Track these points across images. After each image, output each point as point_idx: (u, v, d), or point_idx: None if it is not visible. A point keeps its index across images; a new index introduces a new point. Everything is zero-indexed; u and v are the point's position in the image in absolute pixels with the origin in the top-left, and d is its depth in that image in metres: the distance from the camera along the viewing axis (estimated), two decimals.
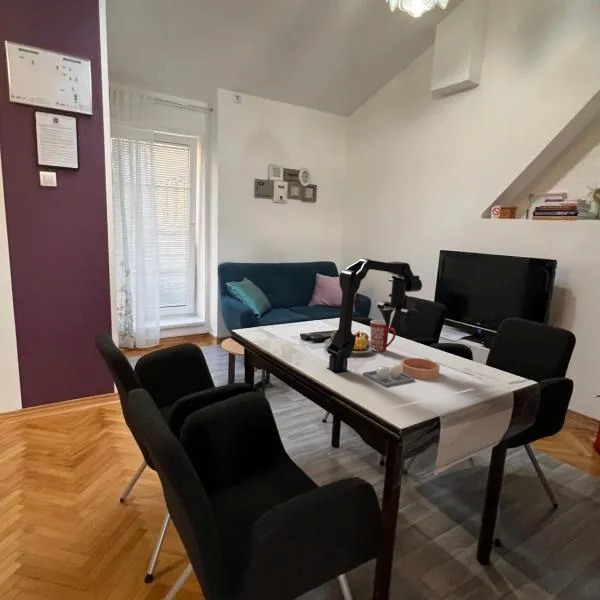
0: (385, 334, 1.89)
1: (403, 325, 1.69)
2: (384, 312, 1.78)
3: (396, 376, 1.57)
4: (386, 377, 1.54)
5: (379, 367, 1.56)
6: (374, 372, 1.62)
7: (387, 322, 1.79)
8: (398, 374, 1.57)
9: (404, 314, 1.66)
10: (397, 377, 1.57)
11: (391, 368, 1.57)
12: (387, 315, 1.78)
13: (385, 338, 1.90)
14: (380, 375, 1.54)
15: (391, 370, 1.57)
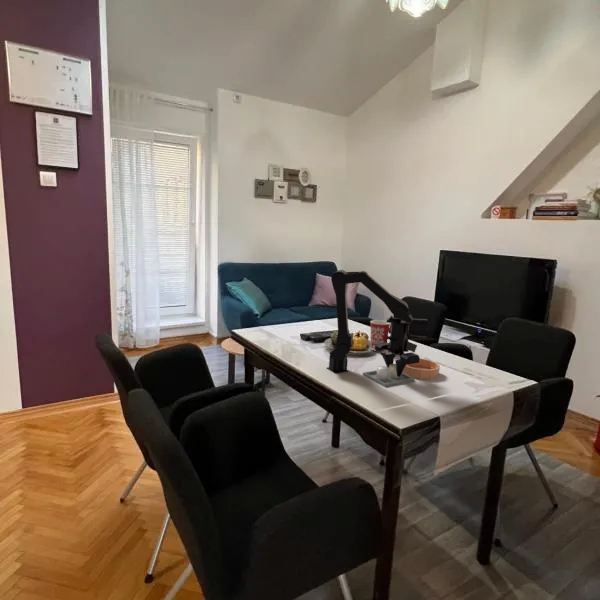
0: (385, 334, 1.89)
1: (398, 370, 1.55)
2: (386, 357, 1.59)
3: (396, 376, 1.57)
4: (386, 377, 1.54)
5: (379, 367, 1.56)
6: (374, 372, 1.62)
7: None
8: None
9: (404, 361, 1.50)
10: (397, 377, 1.57)
11: (391, 368, 1.57)
12: (389, 360, 1.60)
13: (385, 338, 1.90)
14: (380, 375, 1.54)
15: (391, 370, 1.57)
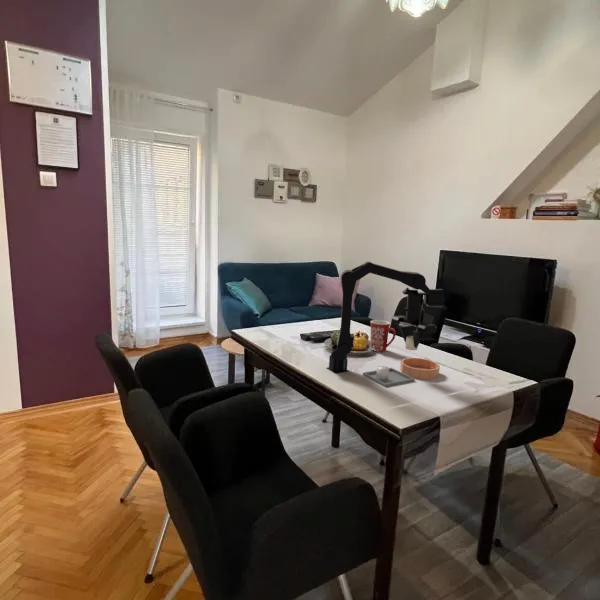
0: (385, 334, 1.89)
1: (416, 341, 1.56)
2: (403, 329, 1.61)
3: (413, 348, 1.58)
4: (386, 377, 1.54)
5: (379, 367, 1.56)
6: (374, 372, 1.62)
7: None
8: None
9: (421, 331, 1.51)
10: (414, 348, 1.58)
11: (408, 339, 1.59)
12: (406, 332, 1.62)
13: (385, 338, 1.90)
14: (380, 375, 1.54)
15: (408, 341, 1.59)
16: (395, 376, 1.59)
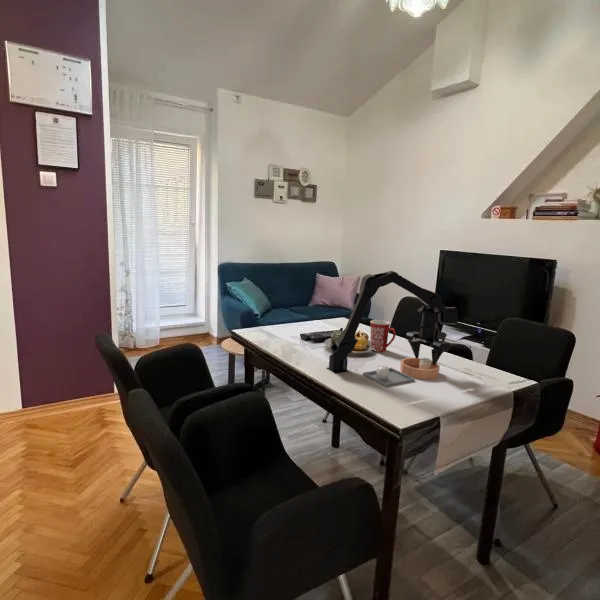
0: (385, 334, 1.89)
1: (434, 359, 1.60)
2: (413, 343, 1.68)
3: None
4: (386, 377, 1.54)
5: (379, 367, 1.56)
6: (374, 372, 1.62)
7: (416, 354, 1.70)
8: (428, 368, 1.65)
9: (436, 348, 1.57)
10: None
11: (422, 362, 1.65)
12: (416, 346, 1.69)
13: (385, 338, 1.90)
14: (380, 375, 1.54)
15: (422, 364, 1.65)
16: (395, 376, 1.59)
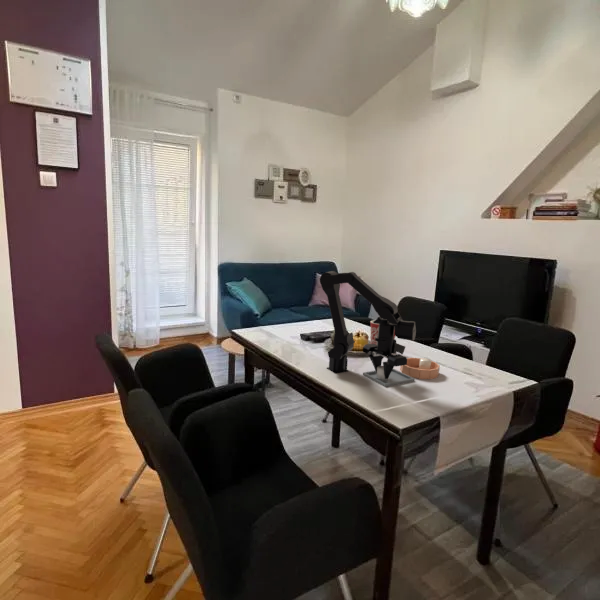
0: None
1: (386, 372, 1.52)
2: (374, 359, 1.56)
3: None
4: None
5: (379, 367, 1.56)
6: (374, 372, 1.62)
7: None
8: (428, 368, 1.65)
9: (391, 363, 1.47)
10: None
11: (422, 362, 1.65)
12: (377, 362, 1.57)
13: None
14: (380, 375, 1.54)
15: (422, 364, 1.65)
16: (395, 376, 1.59)
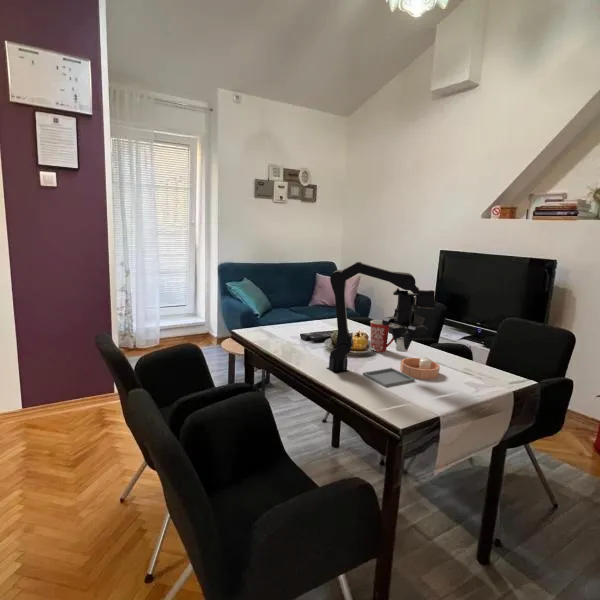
0: (385, 334, 1.89)
1: (406, 342, 1.54)
2: (393, 330, 1.58)
3: None
4: None
5: (399, 338, 1.58)
6: (374, 372, 1.62)
7: None
8: (428, 368, 1.65)
9: (412, 332, 1.48)
10: None
11: (422, 362, 1.65)
12: (397, 333, 1.59)
13: (385, 338, 1.90)
14: (400, 346, 1.56)
15: (422, 364, 1.65)
16: (395, 376, 1.59)
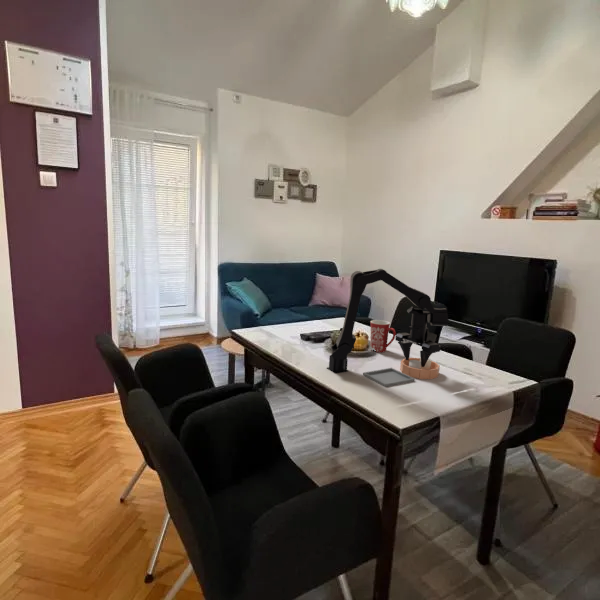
0: (385, 334, 1.89)
1: (423, 360, 1.58)
2: (403, 345, 1.65)
3: None
4: None
5: (411, 361, 1.64)
6: (374, 372, 1.62)
7: (406, 356, 1.66)
8: (428, 368, 1.65)
9: (426, 350, 1.54)
10: None
11: None
12: (406, 348, 1.66)
13: (385, 338, 1.90)
14: None
15: None
16: (395, 376, 1.59)
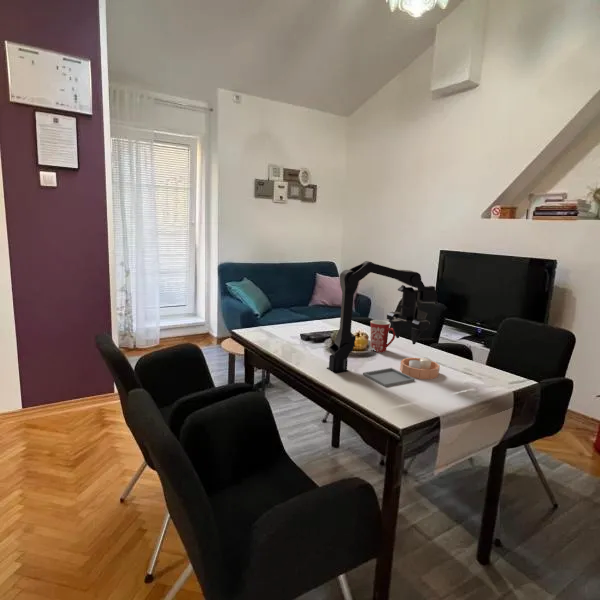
0: (385, 334, 1.89)
1: (414, 337, 1.61)
2: (394, 323, 1.69)
3: None
4: None
5: (411, 361, 1.64)
6: (374, 372, 1.62)
7: (397, 334, 1.70)
8: (428, 368, 1.65)
9: (416, 326, 1.58)
10: None
11: (422, 362, 1.65)
12: (397, 326, 1.70)
13: (385, 338, 1.90)
14: None
15: (422, 364, 1.65)
16: (395, 376, 1.59)
